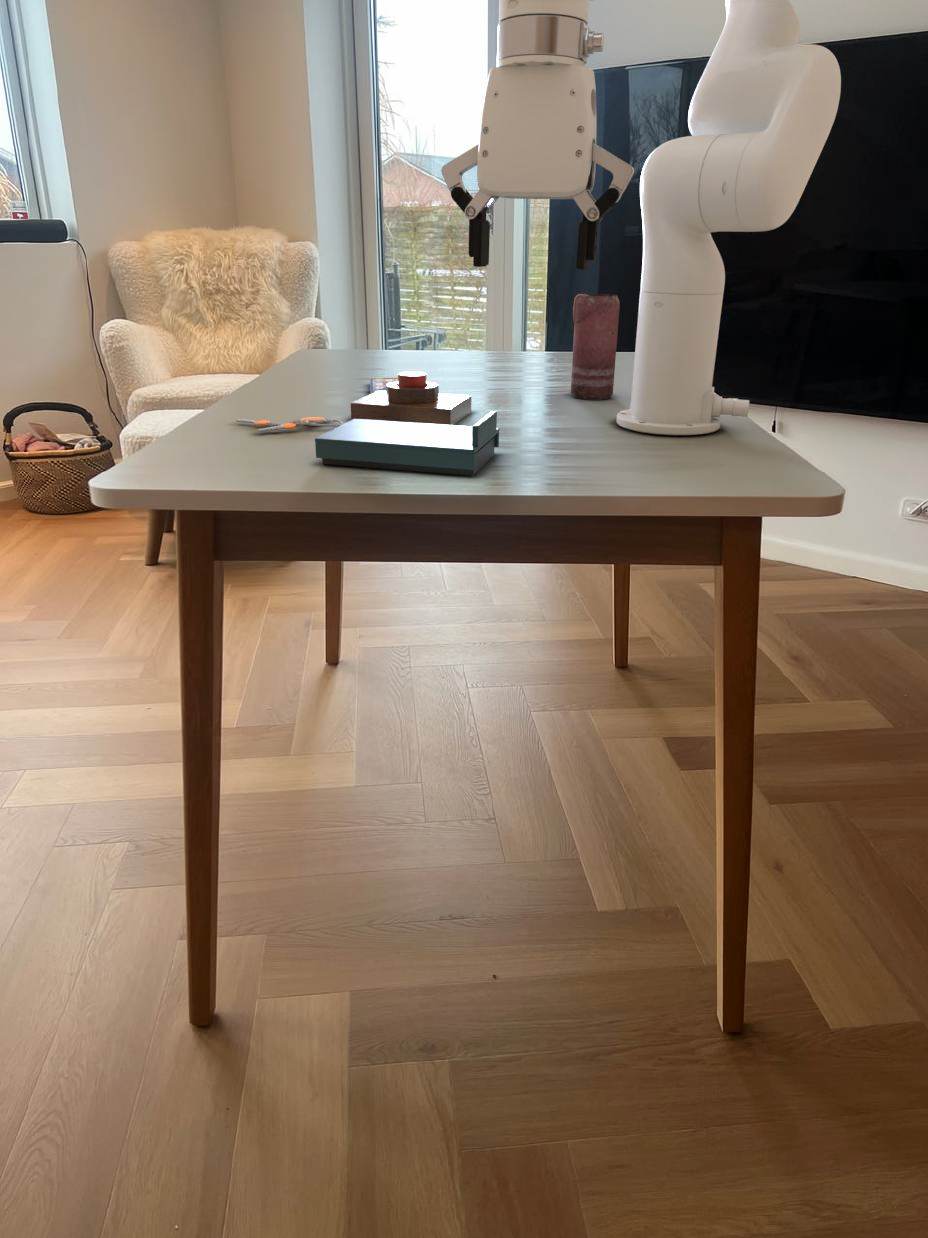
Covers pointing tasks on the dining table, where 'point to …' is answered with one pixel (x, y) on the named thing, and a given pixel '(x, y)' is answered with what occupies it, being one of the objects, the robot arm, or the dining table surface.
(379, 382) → the smartphone
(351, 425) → the cover
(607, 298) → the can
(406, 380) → the timer button
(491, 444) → the calculator
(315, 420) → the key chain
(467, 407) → the block
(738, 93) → the robot arm
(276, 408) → the dining table surface
